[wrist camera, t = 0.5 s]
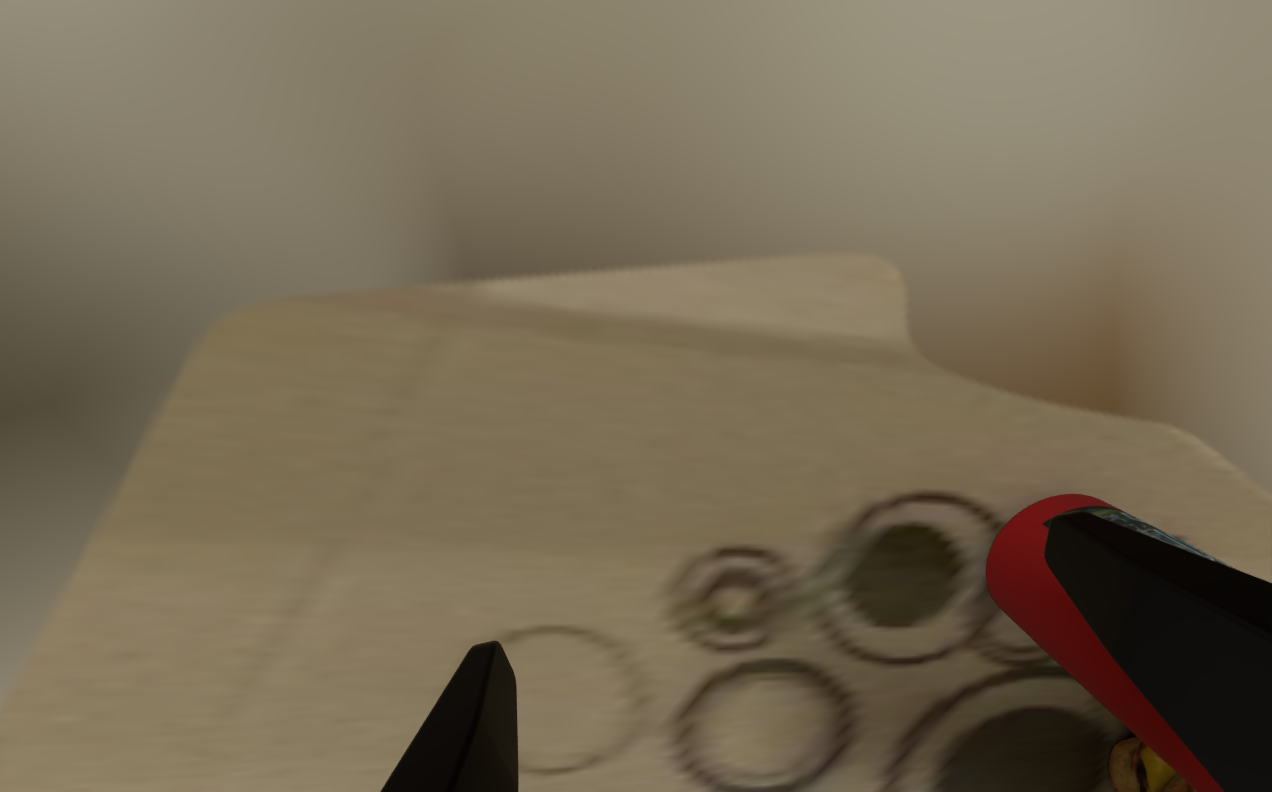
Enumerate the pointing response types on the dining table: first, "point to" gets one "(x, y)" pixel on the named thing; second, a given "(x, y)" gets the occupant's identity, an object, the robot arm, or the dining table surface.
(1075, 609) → the beverage can
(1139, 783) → the burger
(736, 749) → the dining table surface
